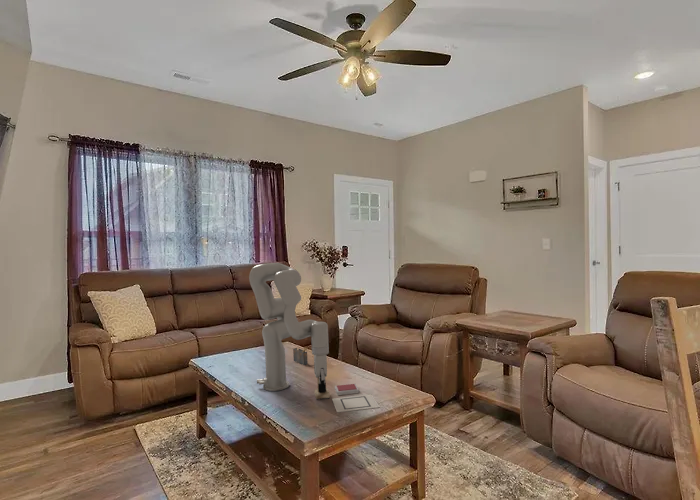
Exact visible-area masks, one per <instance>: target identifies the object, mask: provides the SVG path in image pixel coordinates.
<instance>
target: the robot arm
mask: <svg viewBox="0 0 700 500" xmlns="http://www.w3.org/2000/svg"><path fill="white" fill-rule="evenodd" d="M248 278H249V279H248V281H249V284H250V287H251V289H252V291H253V294H254V297H255V301H256V305H257V309H258V311H259V315H260V317H261V319H263V320H267V321H269V320H274V319H277V320H274V321H271V322H268V323H266V324H265V325H263V327H262V331H261V335H262V339H263V345H264V355H265V361H264V363H265V377H264V378H262V379H261V378H260V379H256V384H257V385H262V388H263V390H266V391H268V392H269V391H270V392H279V391H282V390H285V389H287V388H289V387H290V381H288V380H287V372H286V371H287V369H286V368H287V367H286V350H285V349H286V348H285V346H284V344H283V342H282V340H285V339H287V338H290V337H291V338H292V339H294V340H296V341H300V340H304V339H306V338H310V337H311V339H310V340H311V354H312V355H313V370H314V371H313V373H314V376H315V378H316V379H317V378H318V377H319V384H318V382H316V383H317V386H318V385H319V393H323V392H326V388H327V385H326V383H327V382H326V383H325V380H326V377H327V376H328V362H327V361H328V359H327V355H328V354H330V351H329V349H330V348H329V325H328V323H327V322H325V321H318V320H314V319H305V320H302V321H299V319H298V317H297V316H296V307H297V305H298V304H299V303H300V302H301V301H302V296H301V293H300V292H299V289H298V287H297V286H299V285H300V284H301V282H302V276H301V274H300V272H299V271H298V270H296V269H294V268H293V267H290V266H288V265H285V264H284V263H280V262H270V263H261V264H257V265H255V266H254V267H252V268H251V270H250V271H249V275H248ZM267 281H268V282H270V281H273V283H274V286H275V287H276V289H277V292H278V293H279V295H280V297H276V298H275V297H274V294H273V290H272V288H271V287H270V286H269V284H268V283H267ZM320 375H321V376H320ZM320 378H321V379H320Z"/></svg>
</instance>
